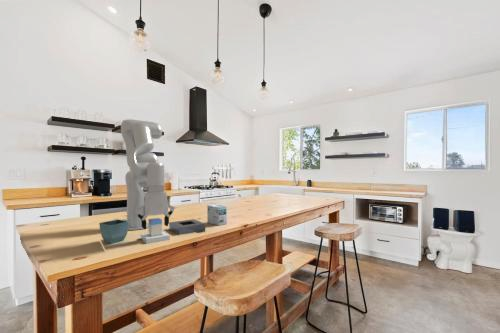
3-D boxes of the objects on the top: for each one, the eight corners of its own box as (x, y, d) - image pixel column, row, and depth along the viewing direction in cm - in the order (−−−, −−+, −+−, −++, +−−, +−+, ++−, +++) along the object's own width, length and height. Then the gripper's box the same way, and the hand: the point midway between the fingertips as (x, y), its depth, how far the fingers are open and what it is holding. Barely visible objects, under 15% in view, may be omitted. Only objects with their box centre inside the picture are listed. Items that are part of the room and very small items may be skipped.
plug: (151, 241, 109) (151, 220, 109) (148, 238, 112) (148, 219, 112) (161, 239, 111) (161, 219, 112) (158, 236, 115) (158, 217, 115)
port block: (179, 235, 119) (179, 227, 119) (169, 229, 130) (169, 221, 130) (205, 231, 127) (205, 223, 127) (193, 226, 138) (193, 218, 138)
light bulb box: (227, 223, 145) (227, 205, 145) (218, 225, 140) (218, 207, 140) (215, 221, 152) (215, 203, 152) (206, 223, 147) (206, 205, 147)
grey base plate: (146, 244, 105) (146, 239, 105) (140, 239, 113) (140, 233, 113) (169, 240, 111) (169, 235, 111) (162, 235, 119) (162, 230, 119)
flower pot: (109, 246, 102) (109, 225, 102) (98, 243, 107) (98, 222, 107) (129, 241, 110) (129, 221, 110) (118, 238, 114) (118, 219, 114)
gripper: (137, 191, 104) (137, 231, 103) (177, 189, 114) (177, 225, 114) (133, 190, 110) (133, 228, 109) (171, 188, 120) (171, 223, 120)
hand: (155, 227), depth 111 cm, fingers open, 9 cm apart
